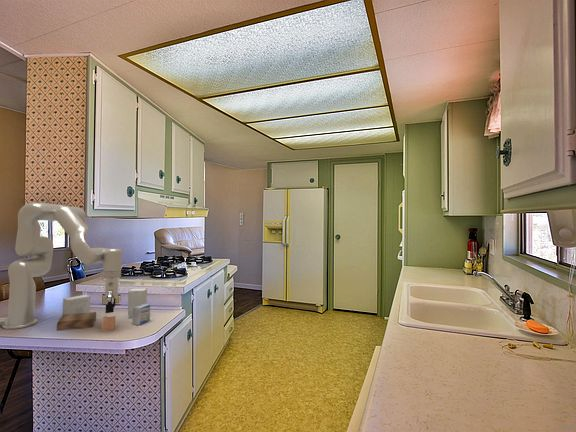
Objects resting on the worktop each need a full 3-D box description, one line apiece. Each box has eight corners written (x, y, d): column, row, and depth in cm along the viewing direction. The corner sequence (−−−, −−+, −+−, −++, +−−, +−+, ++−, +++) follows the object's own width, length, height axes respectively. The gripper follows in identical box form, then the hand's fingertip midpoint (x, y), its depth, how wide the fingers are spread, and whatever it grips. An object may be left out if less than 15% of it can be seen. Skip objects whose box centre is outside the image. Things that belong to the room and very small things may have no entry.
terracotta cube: (101, 331, 137) (102, 320, 137) (102, 327, 141) (103, 317, 142) (114, 329, 139) (114, 319, 139) (114, 326, 144) (115, 316, 144)
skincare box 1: (83, 313, 162) (84, 294, 162) (89, 315, 159) (90, 296, 159) (61, 318, 153) (62, 298, 153) (67, 320, 150) (69, 299, 150)
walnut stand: (56, 330, 135) (57, 321, 135) (62, 322, 146) (63, 314, 146) (92, 326, 142) (93, 318, 142) (95, 319, 152) (96, 311, 152)
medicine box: (139, 325, 146) (140, 308, 146) (131, 324, 147) (132, 307, 147) (149, 320, 154) (150, 304, 154) (142, 320, 155) (143, 303, 155)
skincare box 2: (146, 314, 164) (148, 287, 164) (143, 317, 158) (144, 290, 158) (130, 314, 162) (131, 287, 163) (126, 318, 156) (128, 290, 157)
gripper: (119, 276, 135) (118, 313, 135) (121, 271, 151) (120, 304, 150) (100, 277, 132) (99, 315, 131) (104, 272, 147) (103, 306, 147)
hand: (110, 309), depth 141 cm, fingers open, 9 cm apart
